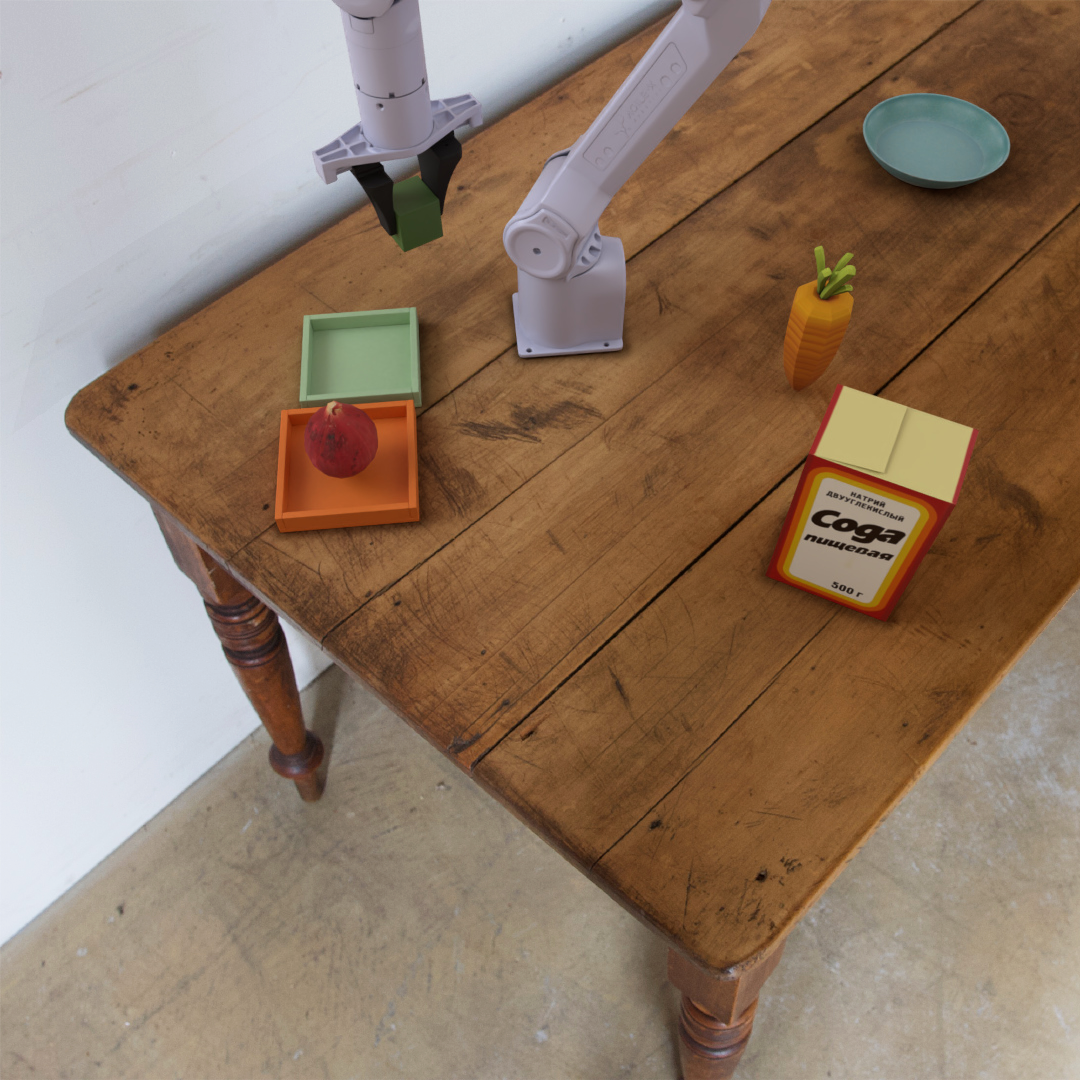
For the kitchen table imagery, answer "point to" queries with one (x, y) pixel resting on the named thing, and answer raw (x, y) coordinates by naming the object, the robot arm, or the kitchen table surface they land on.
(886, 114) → the saucer
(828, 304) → the carrot
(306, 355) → the green tray
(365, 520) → the orange tray
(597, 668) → the kitchen table surface
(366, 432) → the red pomegranate
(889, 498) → the baking soda box
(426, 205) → the green block
